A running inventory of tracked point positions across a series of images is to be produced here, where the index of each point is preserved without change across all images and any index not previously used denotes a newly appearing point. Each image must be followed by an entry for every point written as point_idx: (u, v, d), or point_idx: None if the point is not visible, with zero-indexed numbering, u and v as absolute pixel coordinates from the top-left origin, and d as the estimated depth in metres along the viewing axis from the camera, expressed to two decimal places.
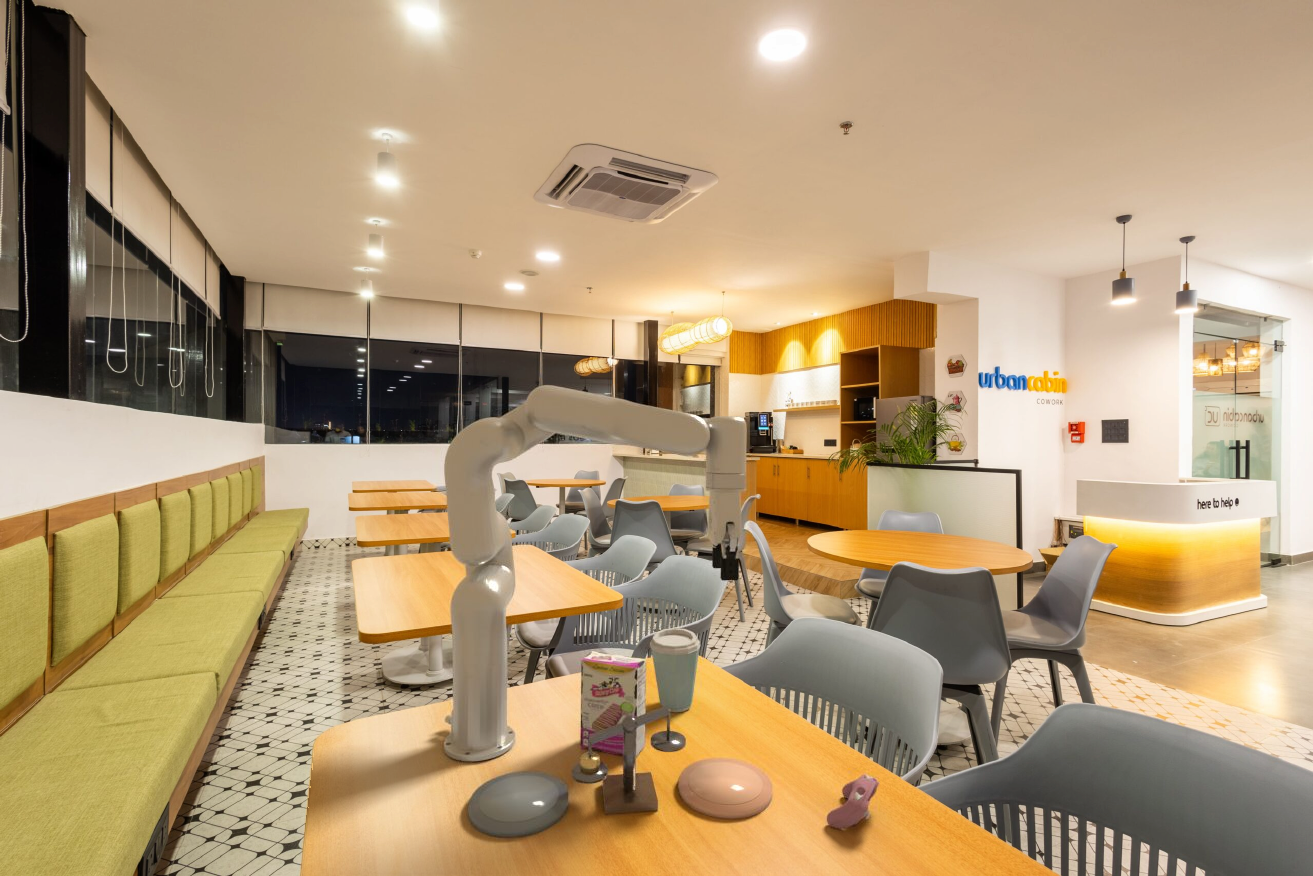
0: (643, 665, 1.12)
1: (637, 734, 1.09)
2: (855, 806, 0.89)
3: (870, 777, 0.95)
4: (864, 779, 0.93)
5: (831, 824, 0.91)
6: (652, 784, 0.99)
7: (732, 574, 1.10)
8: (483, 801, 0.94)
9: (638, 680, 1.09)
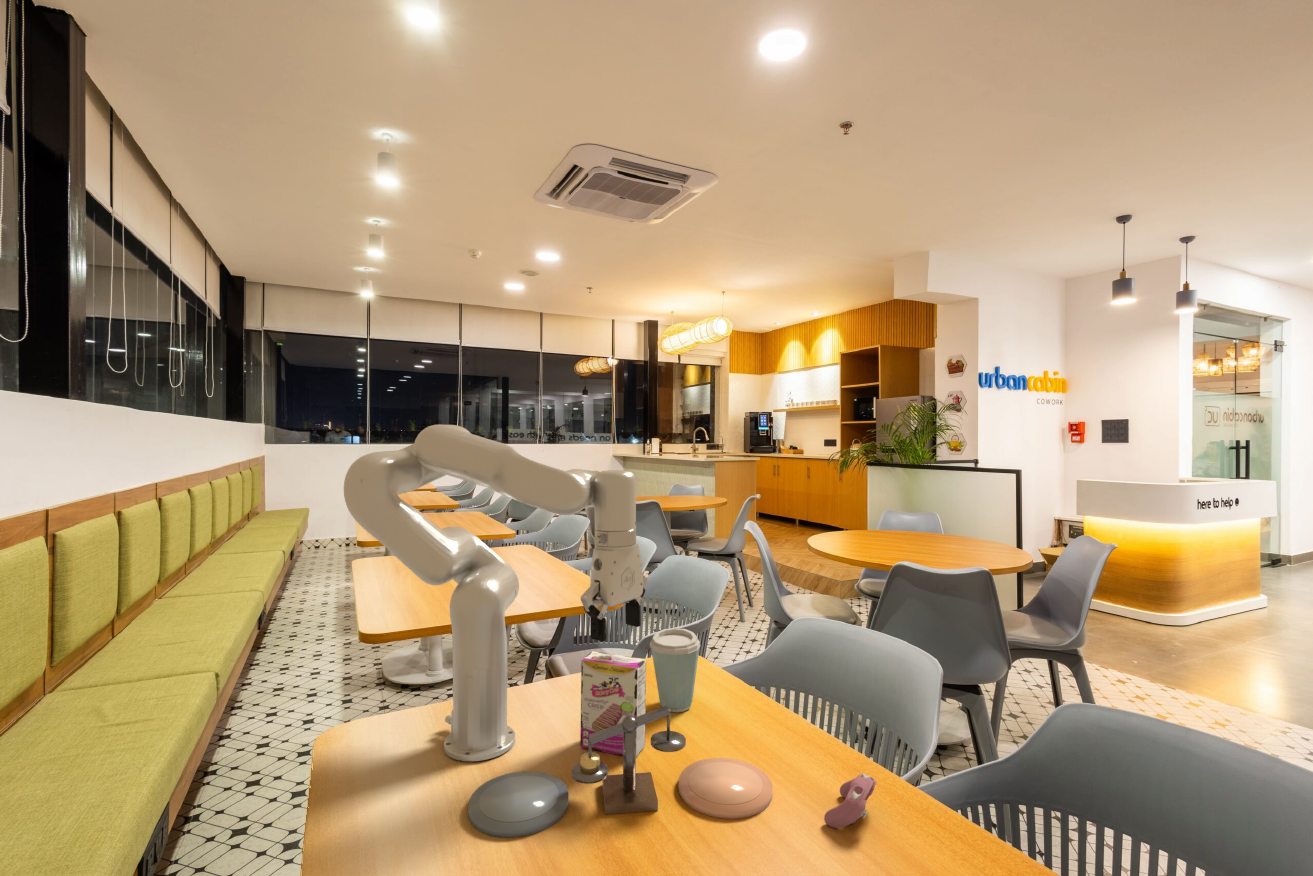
0: (643, 665, 1.12)
1: (637, 734, 1.09)
2: (853, 805, 0.89)
3: (867, 776, 0.95)
4: (861, 778, 0.93)
5: (829, 823, 0.91)
6: (652, 784, 0.99)
7: None
8: (483, 801, 0.94)
9: (638, 680, 1.09)
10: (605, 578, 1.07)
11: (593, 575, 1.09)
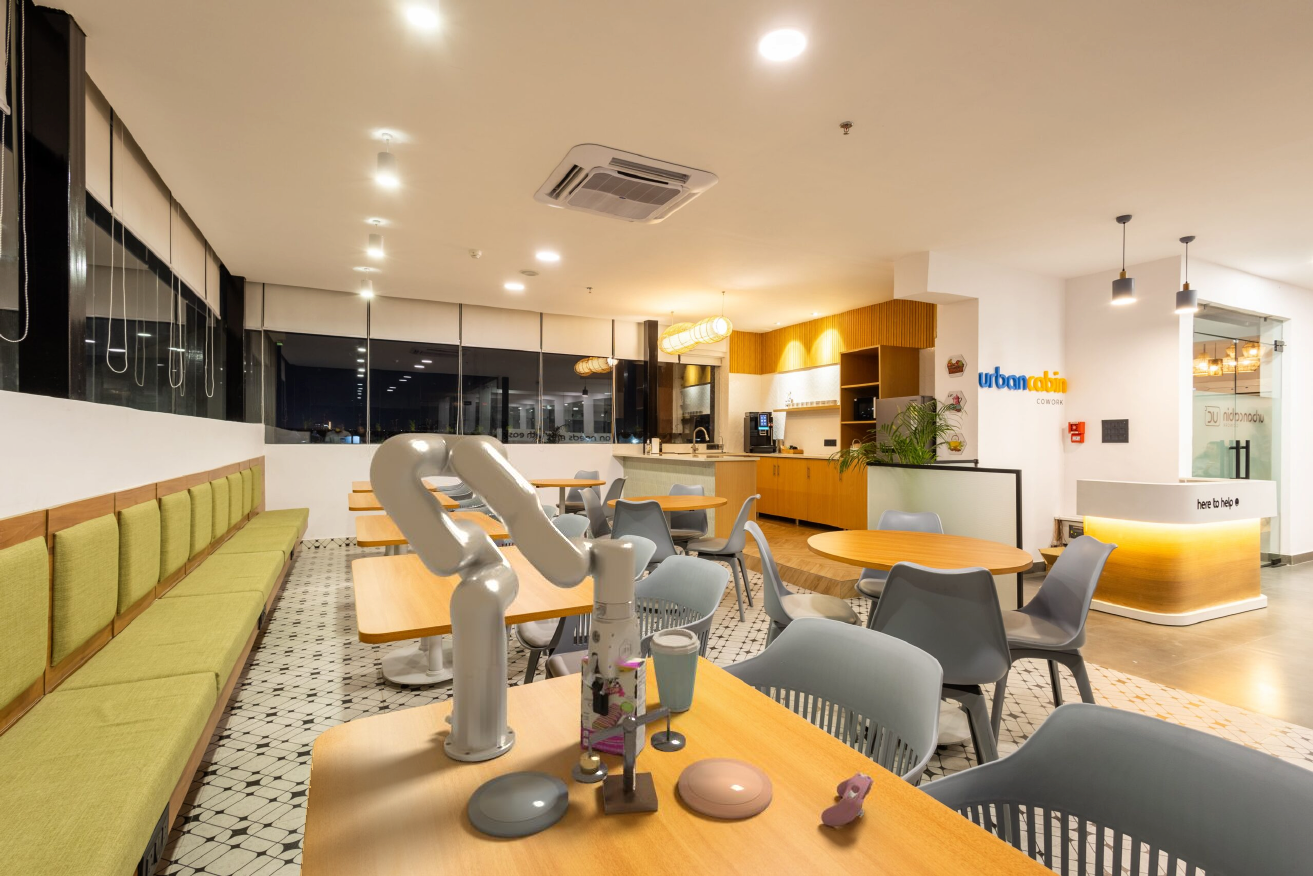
0: (643, 665, 1.12)
1: (637, 733, 1.09)
2: (849, 804, 0.89)
3: (864, 775, 0.95)
4: (858, 777, 0.94)
5: (826, 822, 0.91)
6: (652, 784, 0.99)
7: None
8: (483, 801, 0.94)
9: (638, 680, 1.09)
10: (603, 651, 1.08)
11: (591, 647, 1.09)
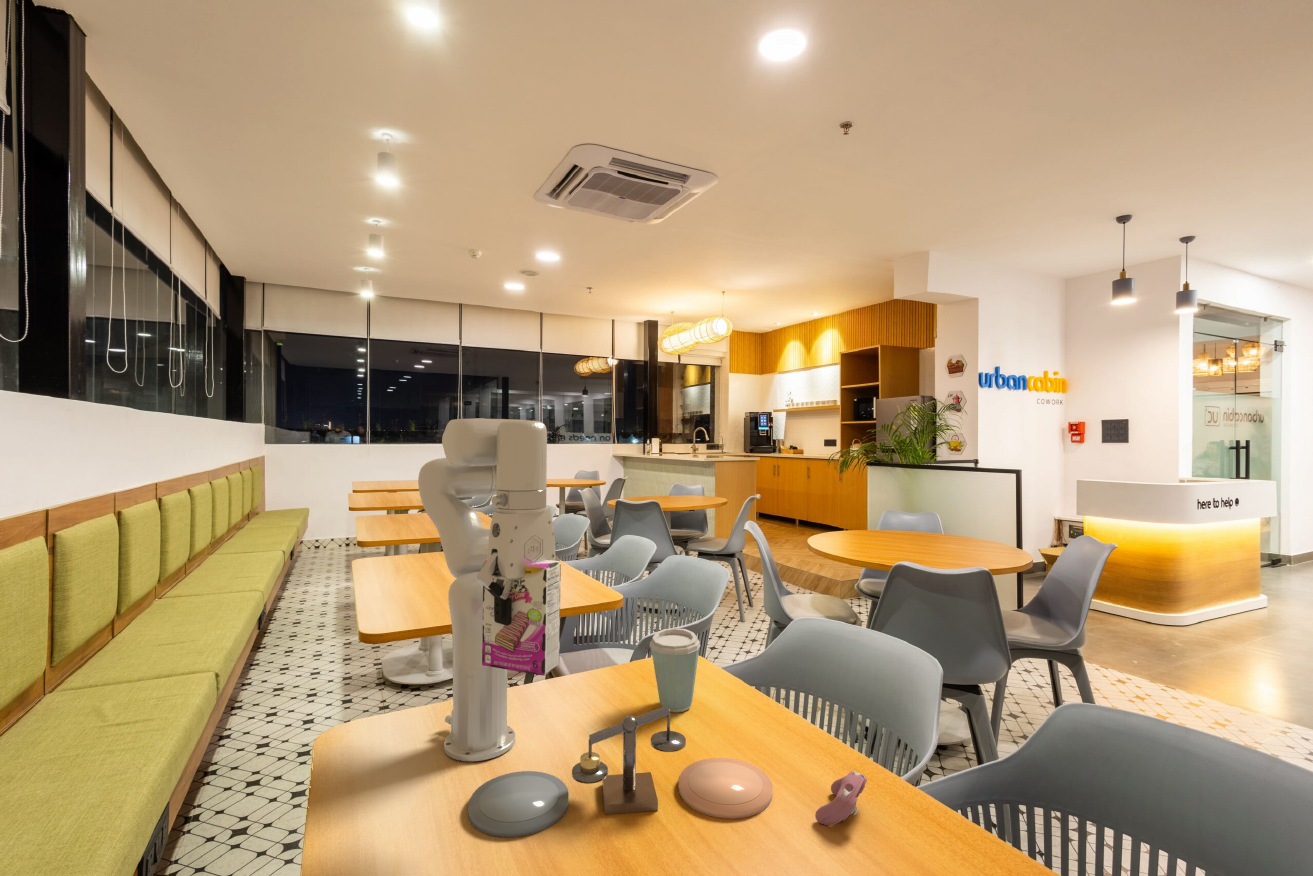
0: (556, 567, 0.94)
1: (546, 646, 0.91)
2: (843, 802, 0.90)
3: (858, 774, 0.96)
4: (852, 776, 0.94)
5: (820, 821, 0.91)
6: (652, 784, 0.99)
7: None
8: (483, 801, 0.94)
9: (548, 582, 0.92)
10: (503, 546, 0.90)
11: (491, 543, 0.91)
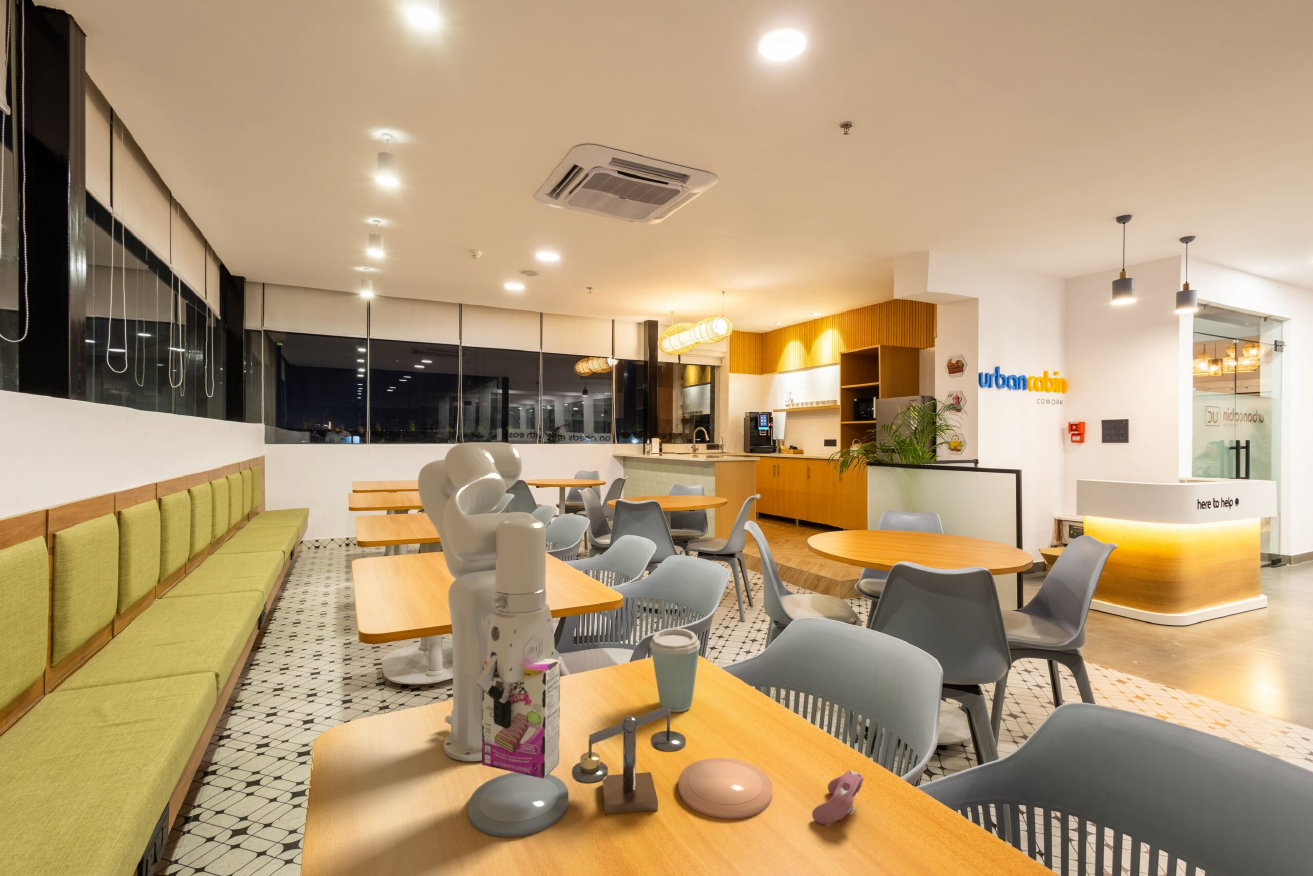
0: (555, 667, 0.94)
1: (546, 749, 0.91)
2: (840, 801, 0.90)
3: (855, 773, 0.96)
4: (849, 775, 0.94)
5: (816, 820, 0.91)
6: (652, 784, 0.99)
7: None
8: (483, 801, 0.94)
9: (547, 685, 0.92)
10: (502, 651, 0.90)
11: (490, 646, 0.92)
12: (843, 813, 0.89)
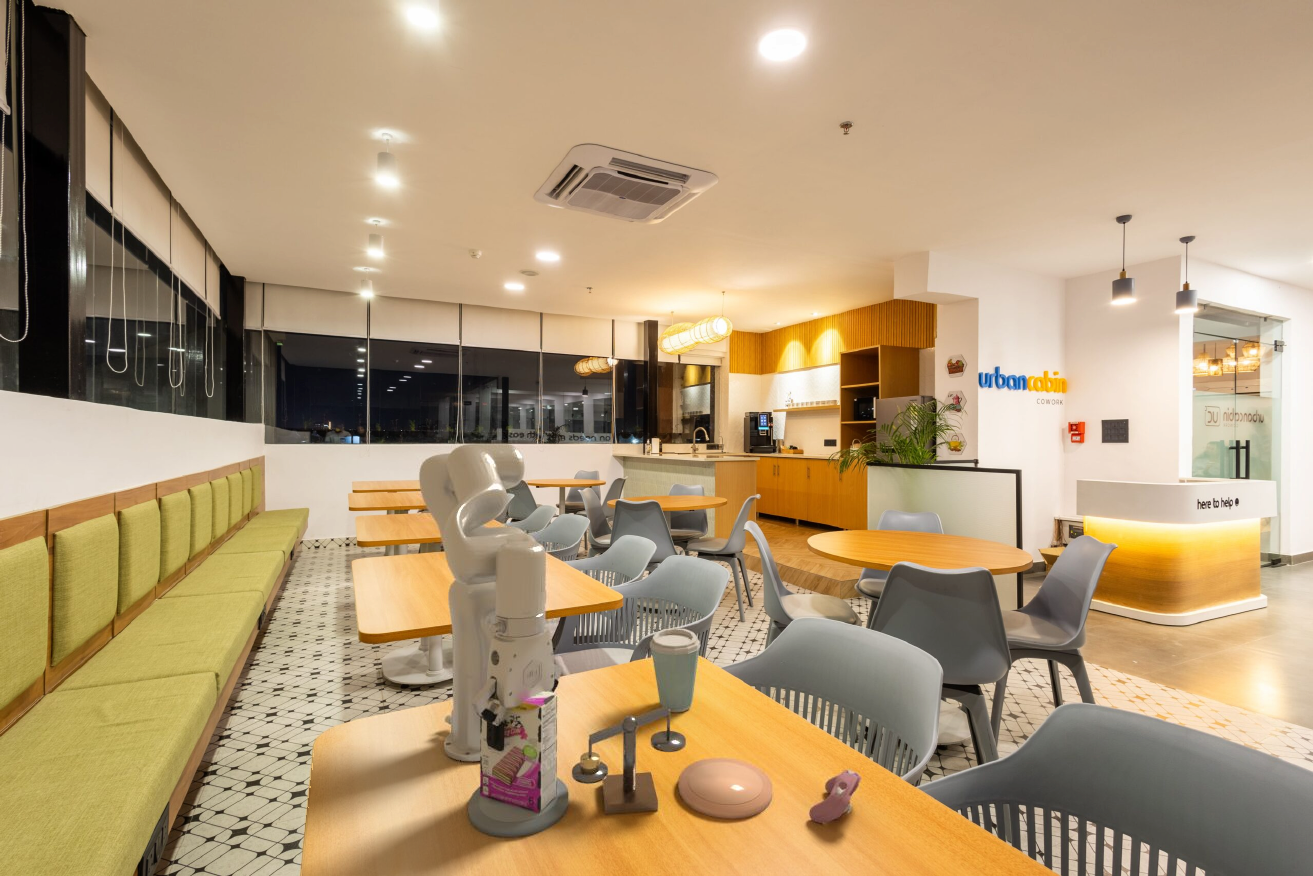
0: (552, 701, 0.93)
1: (542, 784, 0.91)
2: (837, 800, 0.90)
3: (852, 772, 0.96)
4: (846, 774, 0.95)
5: (813, 819, 0.92)
6: (652, 784, 0.99)
7: None
8: (483, 801, 0.94)
9: (543, 720, 0.91)
10: (502, 675, 0.90)
11: (490, 670, 0.92)
12: (840, 812, 0.90)
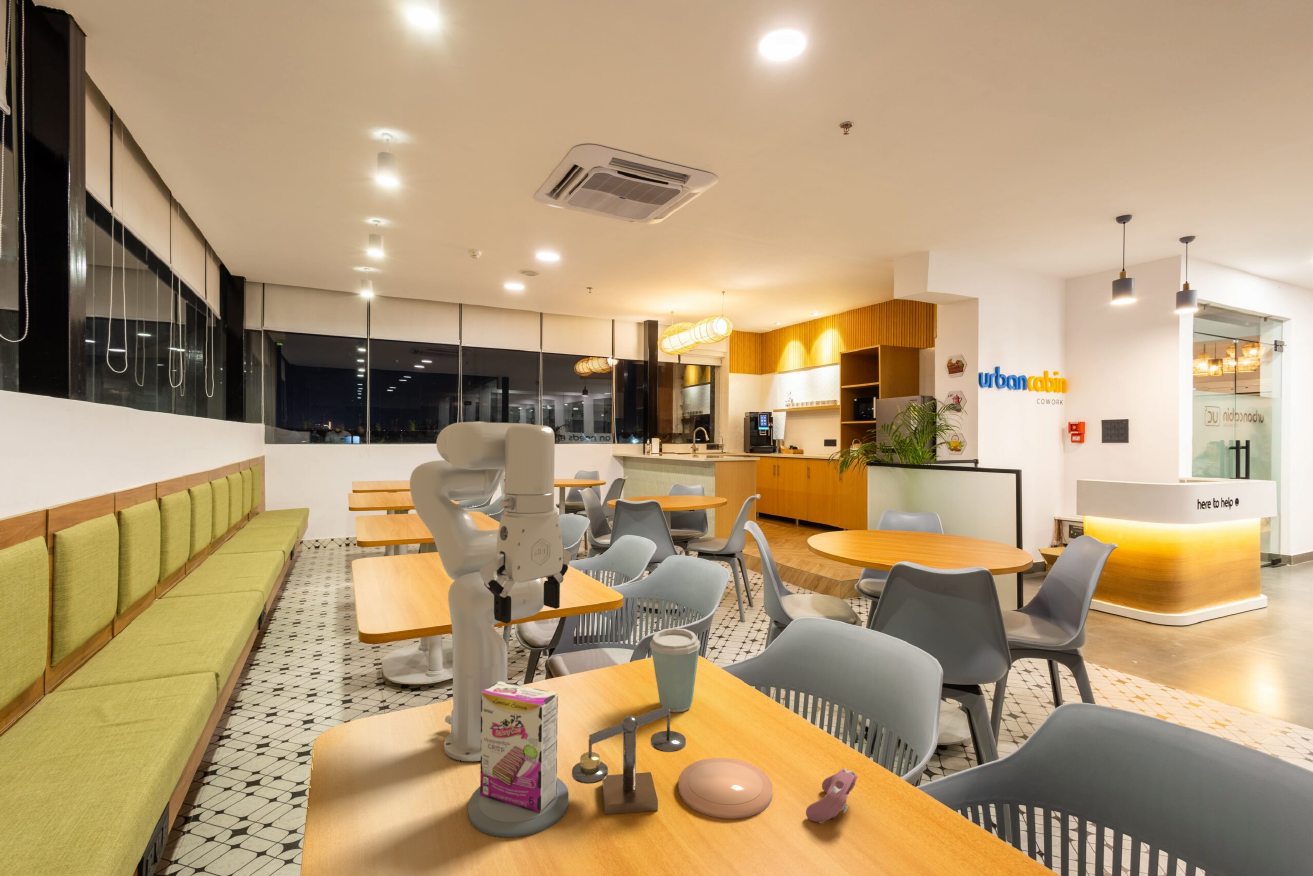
0: (552, 701, 0.93)
1: (542, 783, 0.91)
2: (833, 799, 0.91)
3: (849, 771, 0.97)
4: (843, 773, 0.95)
5: (810, 818, 0.92)
6: (652, 784, 0.99)
7: None
8: (483, 801, 0.94)
9: (544, 719, 0.91)
10: (510, 549, 0.91)
11: (499, 545, 0.93)
12: (836, 811, 0.90)
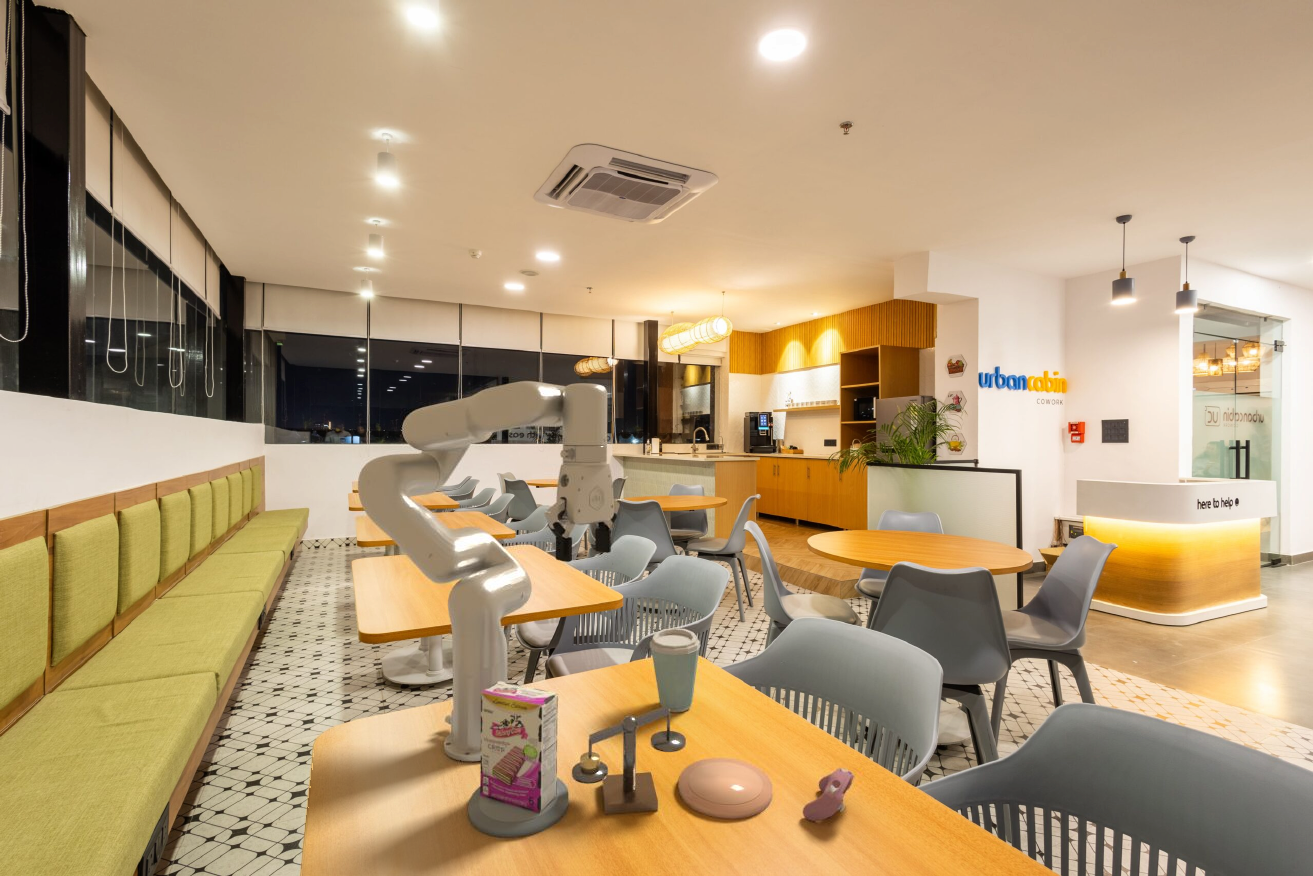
0: (552, 700, 0.93)
1: (542, 783, 0.91)
2: (830, 798, 0.91)
3: (845, 770, 0.97)
4: (839, 772, 0.95)
5: (807, 817, 0.92)
6: (652, 784, 0.99)
7: None
8: (483, 801, 0.94)
9: (544, 719, 0.91)
10: (572, 494, 1.01)
11: (559, 492, 1.03)
12: (833, 810, 0.90)
